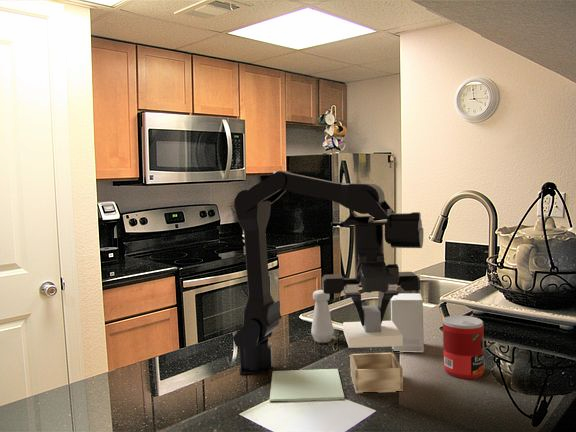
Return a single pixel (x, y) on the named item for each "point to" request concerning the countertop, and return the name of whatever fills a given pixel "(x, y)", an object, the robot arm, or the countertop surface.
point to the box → (376, 372)
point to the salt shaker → (321, 318)
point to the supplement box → (408, 321)
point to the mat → (306, 385)
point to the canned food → (463, 346)
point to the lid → (372, 331)
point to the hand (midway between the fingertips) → (371, 325)
